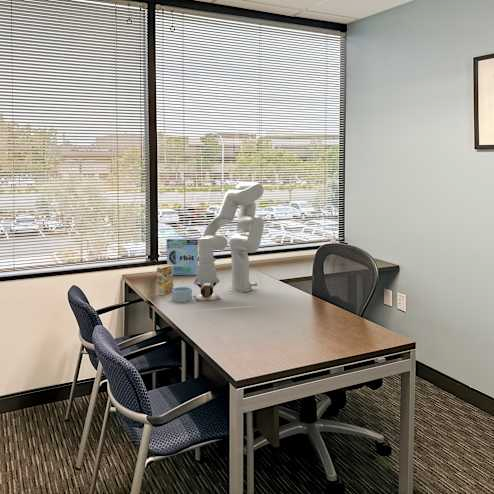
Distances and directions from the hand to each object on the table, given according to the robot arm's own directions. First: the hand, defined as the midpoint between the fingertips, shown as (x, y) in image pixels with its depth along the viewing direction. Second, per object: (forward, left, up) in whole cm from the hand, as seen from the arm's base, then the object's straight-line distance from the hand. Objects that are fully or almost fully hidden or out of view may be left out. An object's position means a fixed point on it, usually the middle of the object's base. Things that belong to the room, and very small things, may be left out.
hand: (206, 295), depth 278 cm
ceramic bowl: (+13, -1, -2) cm, 13 cm away
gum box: (+1, -65, -2) cm, 65 cm away
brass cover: (0, 0, -1) cm, 1 cm away
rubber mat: (0, 0, -2) cm, 2 cm away
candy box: (+19, -18, -2) cm, 26 cm away
